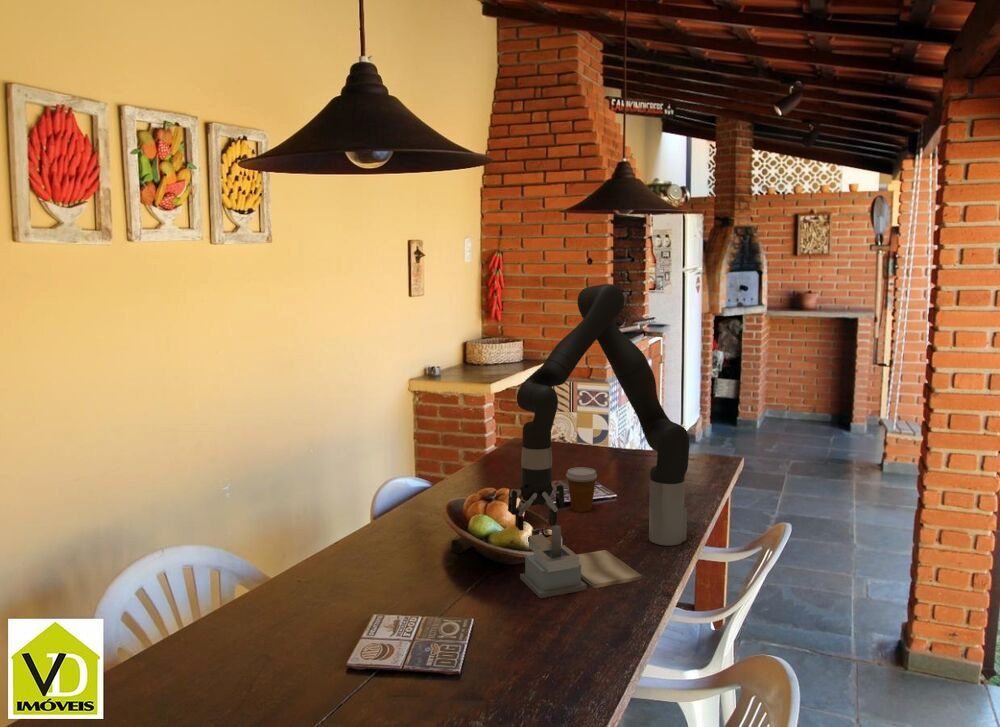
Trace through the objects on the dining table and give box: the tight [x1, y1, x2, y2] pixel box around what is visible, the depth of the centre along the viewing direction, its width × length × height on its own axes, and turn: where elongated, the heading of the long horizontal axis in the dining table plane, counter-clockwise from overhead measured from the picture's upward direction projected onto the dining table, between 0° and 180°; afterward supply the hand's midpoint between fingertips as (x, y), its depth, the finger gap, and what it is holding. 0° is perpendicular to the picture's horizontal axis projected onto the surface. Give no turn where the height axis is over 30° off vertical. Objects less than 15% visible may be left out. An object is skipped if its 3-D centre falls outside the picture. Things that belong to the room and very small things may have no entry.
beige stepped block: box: [528, 533, 579, 572], centre depth 190 cm, size 17×8×2 cm, turn 21°
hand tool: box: [451, 537, 472, 555], centre depth 215 cm, size 19×4×5 cm, turn 136°
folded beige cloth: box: [577, 549, 643, 589], centre depth 197 cm, size 13×18×1 cm
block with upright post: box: [519, 524, 588, 599], centre depth 188 cm, size 12×12×15 cm
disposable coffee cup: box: [565, 466, 598, 513], centre depth 243 cm, size 10×10×12 cm
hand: (536, 527), depth 196 cm, fingers open, 8 cm apart
